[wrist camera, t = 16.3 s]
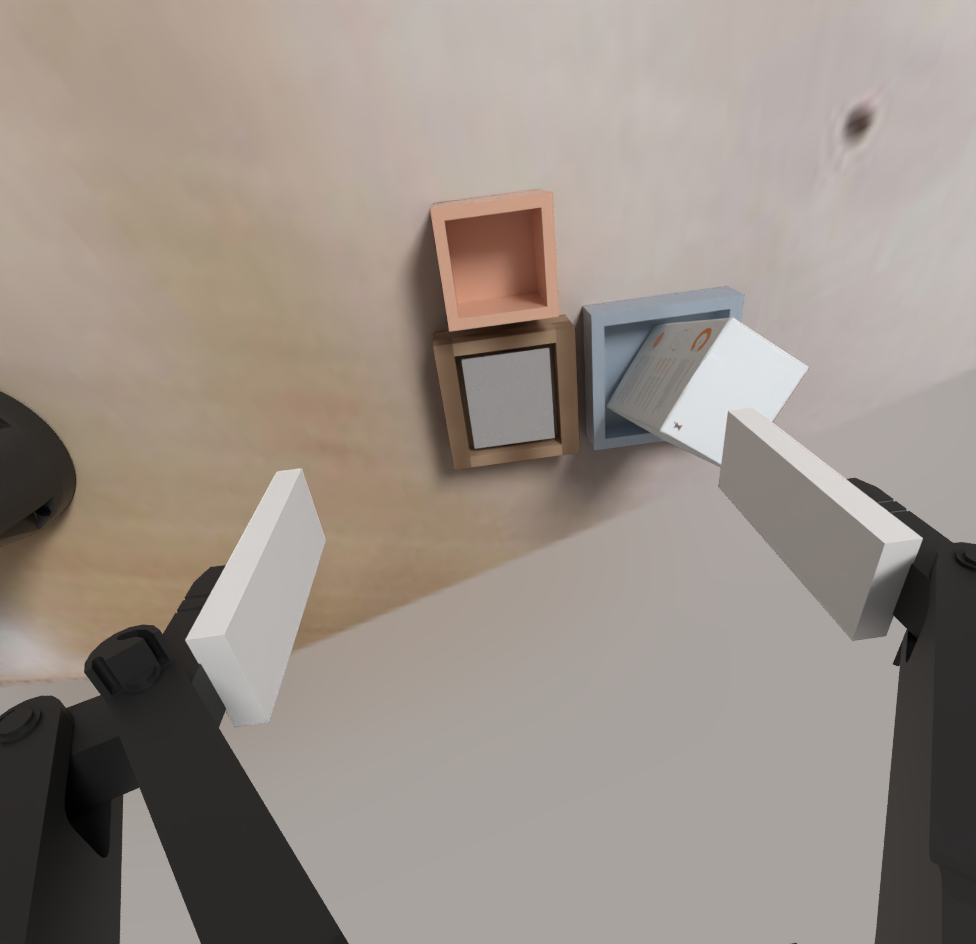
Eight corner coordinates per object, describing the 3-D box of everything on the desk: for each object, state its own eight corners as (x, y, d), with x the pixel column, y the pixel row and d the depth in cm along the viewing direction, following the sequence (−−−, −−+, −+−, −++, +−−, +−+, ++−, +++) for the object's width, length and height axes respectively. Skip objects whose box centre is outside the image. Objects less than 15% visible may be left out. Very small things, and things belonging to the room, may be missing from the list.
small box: (664, 441, 47) (738, 478, 34) (604, 406, 46) (656, 432, 33) (716, 359, 45) (813, 366, 33) (655, 321, 44) (730, 314, 32)
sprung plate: (474, 442, 47) (474, 448, 46) (461, 355, 43) (461, 359, 42) (552, 431, 47) (554, 437, 46) (546, 343, 43) (549, 347, 42)
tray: (586, 435, 50) (594, 450, 47) (582, 306, 44) (591, 315, 41) (712, 418, 50) (727, 432, 47) (726, 286, 44) (744, 294, 41)
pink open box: (449, 312, 43) (449, 331, 38) (432, 203, 39) (430, 208, 34) (546, 298, 43) (559, 316, 38) (539, 188, 39) (552, 191, 34)
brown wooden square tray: (454, 448, 50) (454, 469, 46) (434, 332, 44) (433, 346, 41) (570, 432, 50) (579, 452, 46) (564, 314, 44) (575, 327, 41)
